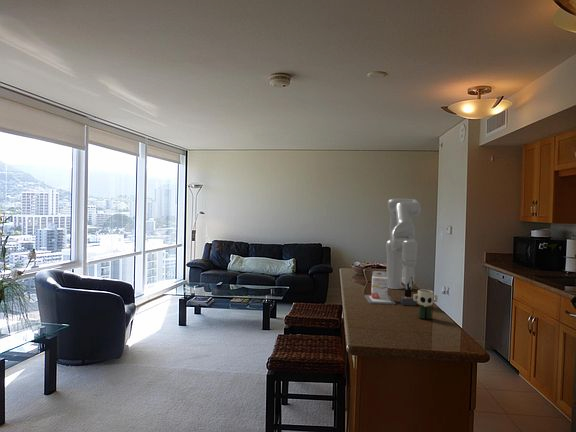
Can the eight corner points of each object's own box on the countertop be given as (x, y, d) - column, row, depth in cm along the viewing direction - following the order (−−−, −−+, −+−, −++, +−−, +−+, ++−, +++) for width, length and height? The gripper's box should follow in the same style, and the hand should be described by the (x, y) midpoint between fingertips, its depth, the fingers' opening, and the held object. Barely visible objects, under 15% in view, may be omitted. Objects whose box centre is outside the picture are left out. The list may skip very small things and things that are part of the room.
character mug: (413, 319, 196) (414, 291, 195) (411, 315, 203) (412, 288, 202) (438, 321, 194) (439, 293, 193) (435, 317, 201) (436, 290, 200)
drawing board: (364, 296, 243) (364, 294, 243) (389, 297, 242) (389, 295, 242) (369, 303, 225) (369, 301, 225) (395, 304, 224) (395, 302, 224)
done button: (403, 299, 229) (403, 295, 229) (410, 299, 229) (410, 296, 229) (405, 301, 225) (405, 297, 225) (411, 301, 225) (412, 297, 225)
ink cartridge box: (372, 298, 234) (373, 272, 233) (371, 296, 239) (371, 270, 238) (387, 299, 233) (388, 272, 233) (386, 297, 238) (387, 271, 238)
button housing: (399, 302, 231) (399, 295, 231) (412, 302, 231) (412, 296, 230) (402, 305, 224) (402, 298, 224) (415, 305, 224) (416, 299, 223)
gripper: (398, 261, 234) (397, 293, 235) (405, 264, 219) (404, 299, 220) (412, 261, 234) (411, 294, 234) (419, 265, 219) (418, 300, 219)
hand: (407, 296), depth 227 cm, fingers closed
